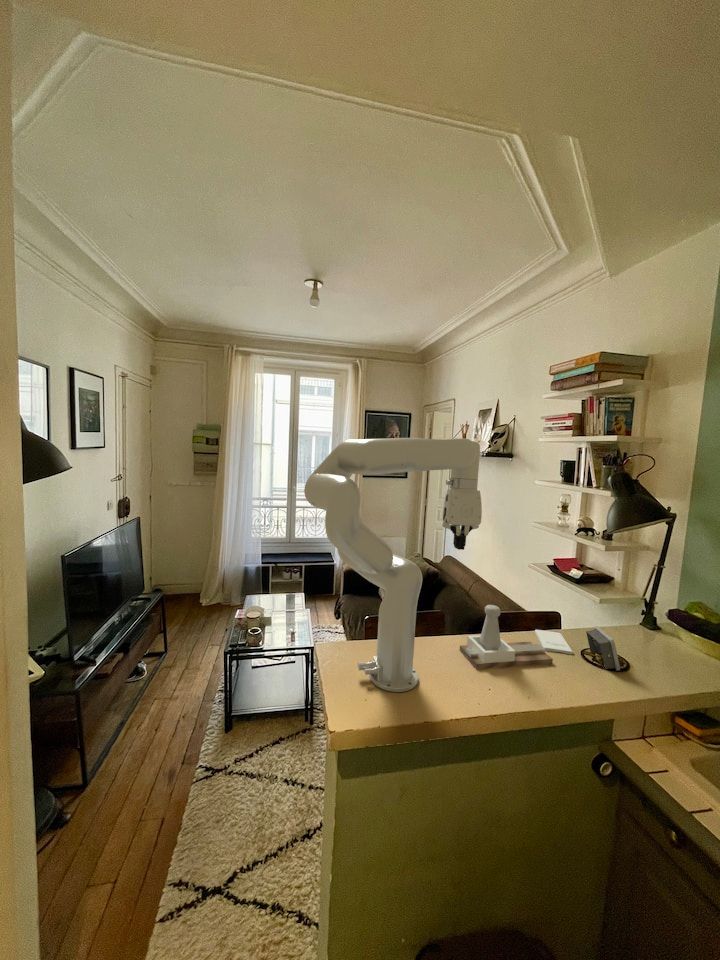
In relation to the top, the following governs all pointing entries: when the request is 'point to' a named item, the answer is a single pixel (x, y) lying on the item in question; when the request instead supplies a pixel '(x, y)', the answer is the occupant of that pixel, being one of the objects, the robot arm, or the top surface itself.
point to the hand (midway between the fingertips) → (459, 548)
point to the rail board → (519, 661)
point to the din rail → (518, 649)
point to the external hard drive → (553, 642)
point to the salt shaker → (491, 629)
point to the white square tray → (491, 651)
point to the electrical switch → (603, 647)
